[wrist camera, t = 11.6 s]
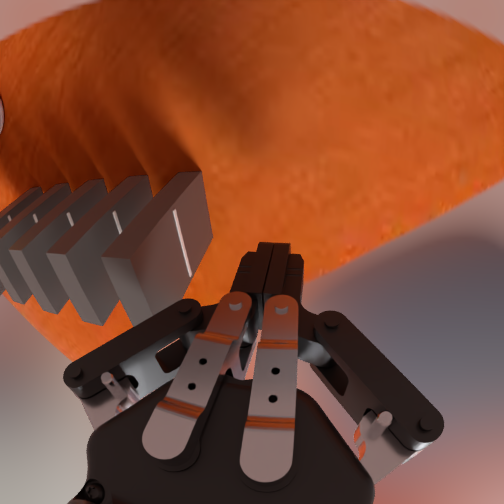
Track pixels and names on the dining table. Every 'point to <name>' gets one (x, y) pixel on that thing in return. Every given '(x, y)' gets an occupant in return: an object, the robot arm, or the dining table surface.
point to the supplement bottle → (1, 116)
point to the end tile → (18, 211)
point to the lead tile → (161, 248)
